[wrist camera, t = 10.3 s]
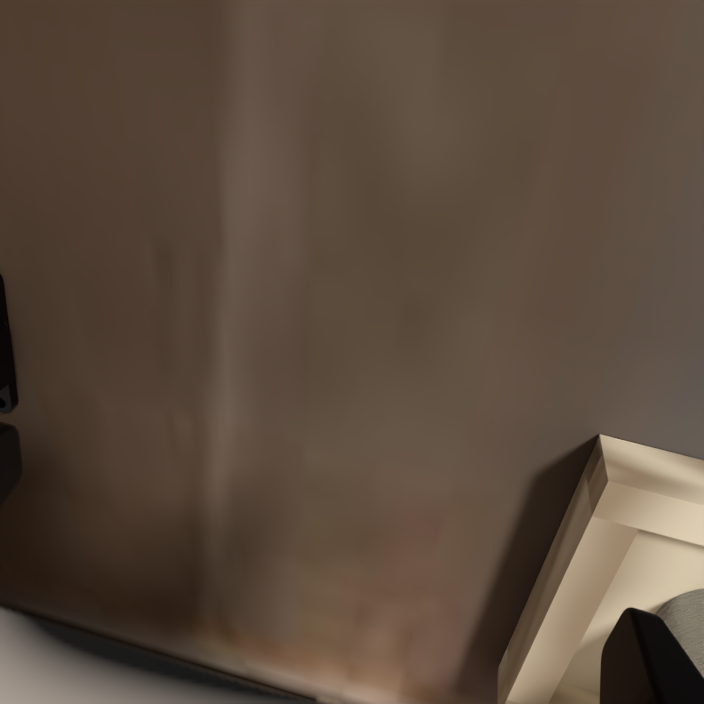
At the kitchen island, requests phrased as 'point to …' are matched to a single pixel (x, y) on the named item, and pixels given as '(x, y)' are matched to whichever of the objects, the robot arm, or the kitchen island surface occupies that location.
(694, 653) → the lidded storage canister
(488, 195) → the kitchen island surface
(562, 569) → the shallow square beige tray
